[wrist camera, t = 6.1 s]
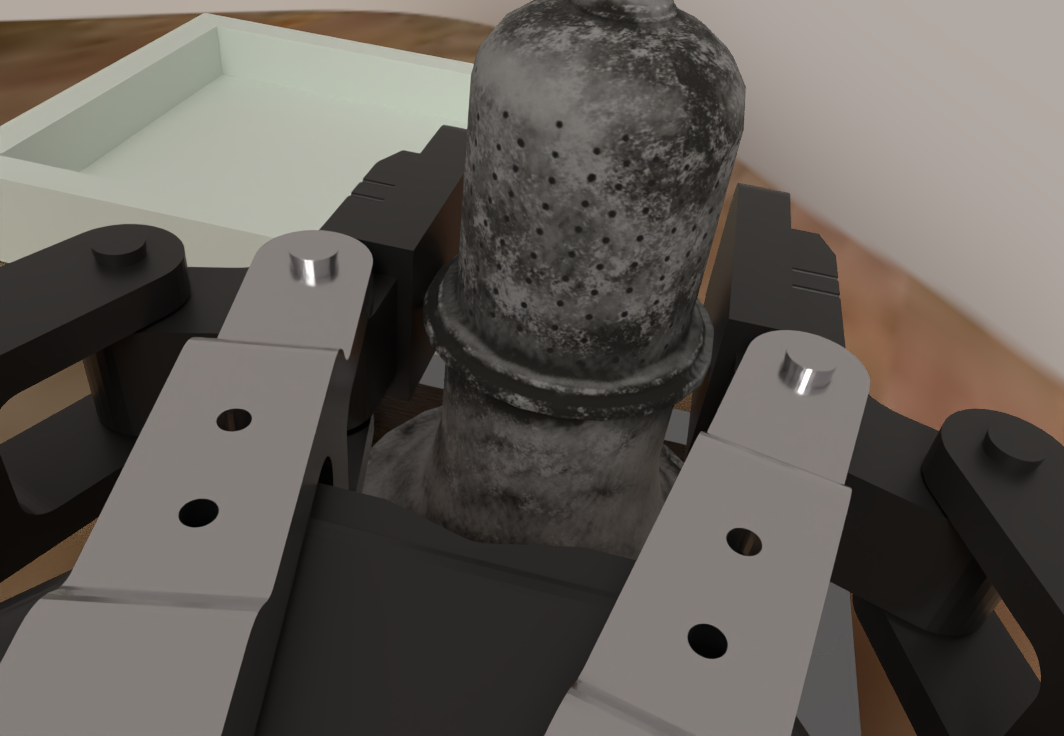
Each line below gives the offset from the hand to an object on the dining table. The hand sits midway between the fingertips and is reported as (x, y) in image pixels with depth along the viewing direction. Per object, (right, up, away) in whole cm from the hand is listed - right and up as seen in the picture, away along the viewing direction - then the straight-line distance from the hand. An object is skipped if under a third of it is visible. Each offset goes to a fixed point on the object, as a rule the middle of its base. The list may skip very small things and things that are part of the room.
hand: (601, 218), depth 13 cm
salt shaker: (-1, -7, +2) cm, 8 cm away
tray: (-8, +3, +14) cm, 17 cm away
